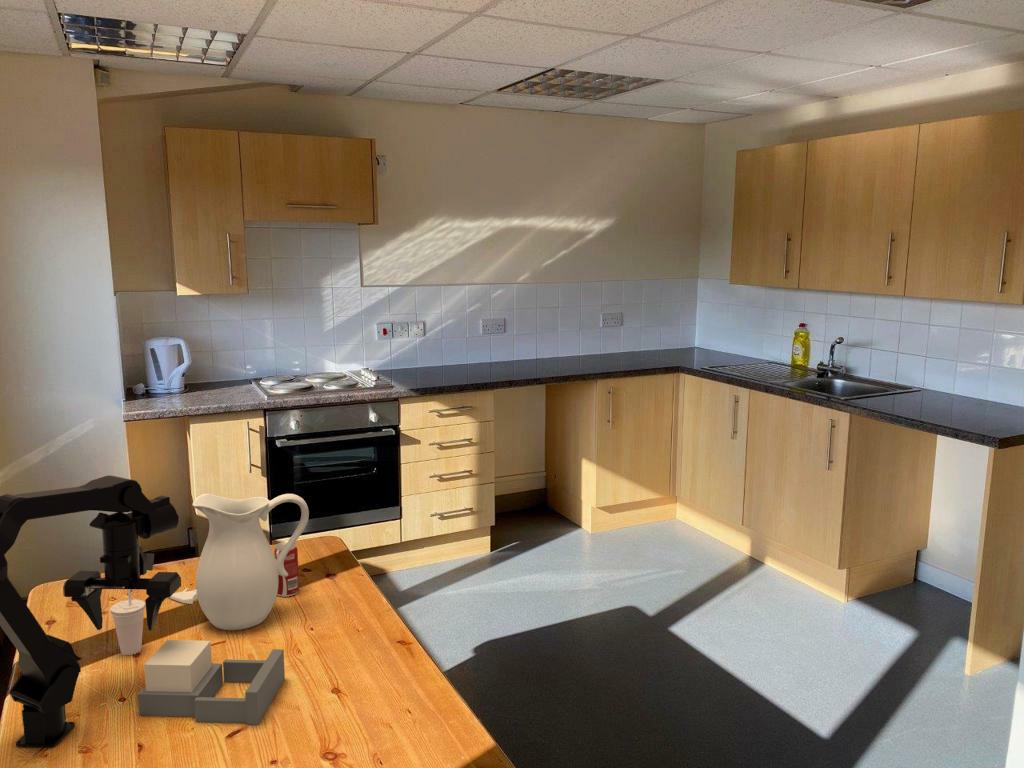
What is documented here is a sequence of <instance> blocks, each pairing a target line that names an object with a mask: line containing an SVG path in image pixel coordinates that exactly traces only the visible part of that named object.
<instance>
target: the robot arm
mask: <svg viewBox="0 0 1024 768" xmlns="http://www.w3.org/2000/svg"><path fill="white" fill-rule="evenodd" d="M88 511H96V512H98V514H97V515H96V517H95V518H93V519H92V520H91V521H90V522H89V527H91V528H95V529H99V530H101V531H102V532H101V535H102V549H103V551H102V553H103V554H102V555H101V556H100V557H99V563H100V564H103V567H104V570H103V571H104V577H102V574H101V572H99V571H98V570H79V571H78V572H76V573H75V574H73V575H72V576H71V577H69V578H67V579H66V580H65V581H64V582H63V586H62V592H63V595H62V596H63V597H65V598H71V602H76V604H77V605H78V606H79V607H80V608H81V610H82V611H83V612H84V613H85V614H86V615H87V617H88V618H89V620H90V621H91V622H92V624H93V626H94V627H95V629H97V631H101V630H102V628H103V619H104V618H103V611H102V600H101V599H102V598H101V597H102V591H103V590H128V589H131V590H145V594H146V595H147V596H148V597H147V598H146V599H144V602H145V606H146V608H145V611H146V612H145V613H146V623H147V629H148V631H150V632H151V631H152V630H154V627H155V624H156V622H157V619H158V615H159V612H160V608H161V606H162V603H164V601H165V600H166V599H167V598H169V597H171V596H172V595H173V594H174V593H177V591H178V590H179V588H180V587H182V577H181V575H180V574H179V573H178V572H176V571H158V572H157V573H155V574H154V575H153V576H152V577H150V578H146V577H143V578H142V577H141V576H145V575H146V574H147V573H148V572H147V571H153V570H154V569H153V567H154V562H155V561H154V560H155V559H154V558H155V553H145V552H143V551H144V550H143V549H144V548H143V546H140V545H139V538H141V539H143V540H148V539H151V538H153V537H156V536H159V535H163V534H165V533H168V532H171V531H174V530H175V529H177V527H178V525H179V522H180V521H179V517H180V516H179V514H178V513H177V510H176V508H175V507H174V505H173V504H172V503H171V498H170V497H169V496H167V495H160V496H156V497H155V498H152V499H149V498H148V497H147V496H146V495H145V494H144V493H143V491H142V486H141V484H140V483H139V482H138V481H137V480H135V479H130V478H125V477H120V476H115V475H104V476H102V477H98V478H94V479H92V480H90V481H88V482H86V483H85V484H82V485H79V486H76V487H75V486H73V487H65V488H57V489H50V490H49V489H48V490H42V491H32V492H26V493H18V494H10V493H6V494H2V495H0V628H1V629H2V631H3V632H4V633H5V635H6V637H8V639H9V640H10V642H11V643H12V644H13V646H14V648H15V649H16V650H17V652H18V665H19V668H20V671H21V673H20V675H19V677H18V678H17V679H16V681H15V682H14V684H13V686H12V687H11V688H10V690H9V692H8V693H9V696H10V698H11V699H12V700H13V702H16V703H20V704H21V705H22V711H21V717H22V726H23V735H22V736H21V737H20V738H19V739H17V741H15V746H16V747H28V748H29V747H34V748H36V747H38V748H53V747H56V746H57V745H58V743H59V742H61V741H62V740H63V738H64V737H65V736H66V735H68V733H70V731H71V730H72V729H73V728H74V727H75V726H76V722H75V721H66V720H67V714H66V705H68V704H70V703H72V701H73V696H74V694H75V690H76V685H77V681H78V678H79V677H80V676H79V675H80V673H81V671H82V670H81V669H82V668H81V665H80V664H81V663H80V662H79V661H81V659H82V657H80V656H78V655H77V654H76V653H75V650H74V648H73V645H72V644H71V643H70V642H69V641H66V640H64V639H61V638H58V637H56V636H53V635H50V634H47V633H46V631H45V630H44V629H43V627H42V625H40V623H39V621H38V619H36V617H35V615H34V614H33V612H32V611H31V609H30V608H29V607H28V605H27V604H26V602H25V601H24V599H23V598H22V596H21V594H19V592H18V590H17V588H16V587H15V586H14V584H13V583H12V582H11V579H9V576H8V575H9V573H8V572H9V571H8V569H9V563H8V560H7V558H6V554H7V552H9V551H10V549H11V548H12V547H13V546H14V545H15V542H16V541H17V539H18V536H19V533H20V531H21V529H22V527H23V525H24V524H25V523H26V522H28V521H29V520H36V519H44V518H50V517H54V516H55V517H56V516H62V515H68V514H69V515H70V514H75V513H81V512H82V513H83V512H88ZM104 512H108V513H110V514H108V513H104Z"/></svg>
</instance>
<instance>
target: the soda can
mask: <svg viewBox="0 0 1024 768" xmlns="http://www.w3.org/2000/svg"><path fill="white" fill-rule="evenodd" d="M288 541H289V540H287V541H281V542H278V543H277V544H275V547H274V548H275V549H274V551H273V553H274V556H275V559H277V557H278V555H279V554H280V552H281V551H282V549H283V548H284V546H285V545H286V543H287V542H288ZM284 568H285V570H286V572H287V573H288V576H281V575H278V592H277V596H278V597H279V596H281V597H280V598H290V597H289V596H292V597H294V596H293V595H295V594H296V595H298V593H299V592H300V581H299V580H300V579H299V576H300V575H299V554H298V547H297V543H296V542H295V543H294V545H293V546H292V547H291V549H290V550H289V552H288V553H287V555H286V557H285V559H284ZM296 595H295V596H296Z"/></svg>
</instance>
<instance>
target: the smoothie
mask: <svg viewBox="0 0 1024 768" xmlns="http://www.w3.org/2000/svg"><path fill="white" fill-rule="evenodd" d="M145 611H146V603H145V600H141V599H137V598H134V599H132V589H127V599H125V600H122V601H118V602H115V604H113V605H112V606H110V615H111V616H112V619H113V623H114V627H115V633H116V637H117V641H118V646H119V651H120V654H121V653H122V654H124V655H123V656H125V655H129V656H134V655H136V653H137V654H139V653H140V652H141V651H142V645H143V644H142V643H143V631H144V630H143V629H144V618H145V616H144V615H145V614H144V613H145ZM138 652H139V653H138ZM122 654H121V655H122ZM133 654H134V655H133Z"/></svg>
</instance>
